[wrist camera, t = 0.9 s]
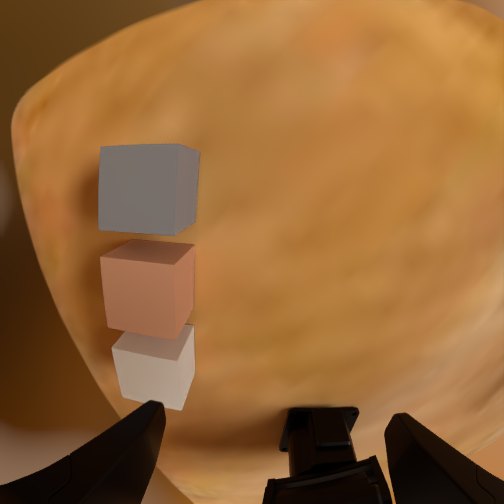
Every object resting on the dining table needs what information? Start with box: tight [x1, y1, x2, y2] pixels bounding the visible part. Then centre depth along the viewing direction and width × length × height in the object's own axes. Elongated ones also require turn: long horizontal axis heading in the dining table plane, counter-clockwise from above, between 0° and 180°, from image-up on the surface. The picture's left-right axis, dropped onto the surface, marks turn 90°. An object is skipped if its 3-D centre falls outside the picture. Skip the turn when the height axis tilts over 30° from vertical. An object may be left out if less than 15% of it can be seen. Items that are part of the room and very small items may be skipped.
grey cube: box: [98, 144, 200, 236], centre depth 15 cm, size 4×4×4 cm
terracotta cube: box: [100, 239, 195, 340], centre depth 17 cm, size 4×4×4 cm
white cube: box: [111, 324, 195, 411], centre depth 19 cm, size 4×4×4 cm
